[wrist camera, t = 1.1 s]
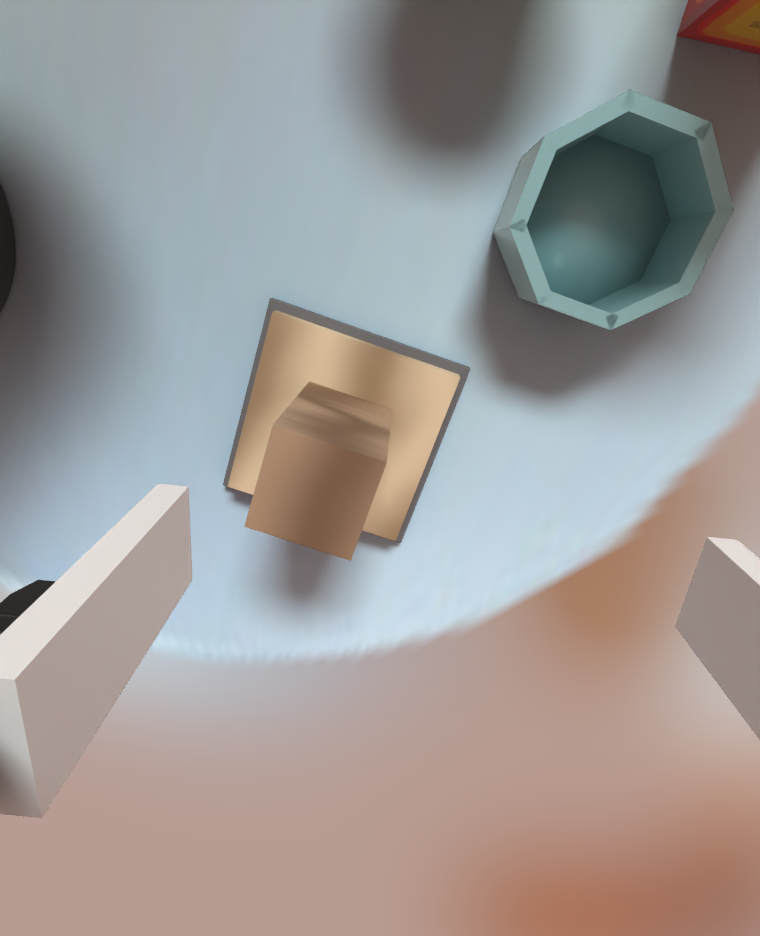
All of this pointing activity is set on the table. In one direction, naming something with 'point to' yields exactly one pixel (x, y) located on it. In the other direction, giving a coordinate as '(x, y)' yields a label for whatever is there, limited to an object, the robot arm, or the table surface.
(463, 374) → the mat
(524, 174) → the bowl
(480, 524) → the table surface
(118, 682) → the robot arm
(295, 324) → the lid
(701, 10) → the baking soda box
